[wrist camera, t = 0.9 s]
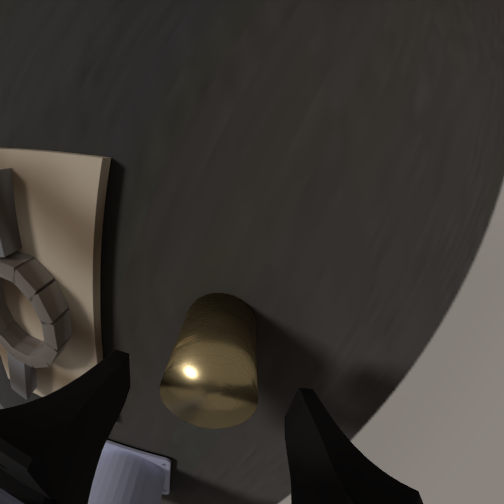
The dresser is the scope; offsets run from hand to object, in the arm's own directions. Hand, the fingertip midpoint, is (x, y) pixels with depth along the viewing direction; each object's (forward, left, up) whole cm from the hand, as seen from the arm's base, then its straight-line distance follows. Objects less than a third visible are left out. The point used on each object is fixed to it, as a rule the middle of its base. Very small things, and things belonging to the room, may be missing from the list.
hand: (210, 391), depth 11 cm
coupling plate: (-2, +13, -6) cm, 14 cm away
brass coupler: (0, 0, -6) cm, 6 cm away
